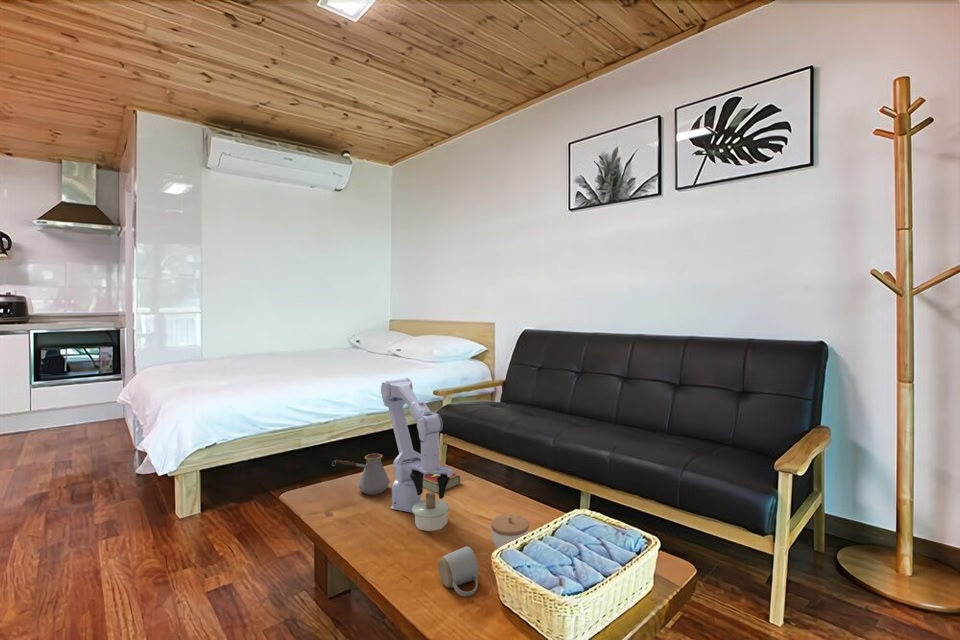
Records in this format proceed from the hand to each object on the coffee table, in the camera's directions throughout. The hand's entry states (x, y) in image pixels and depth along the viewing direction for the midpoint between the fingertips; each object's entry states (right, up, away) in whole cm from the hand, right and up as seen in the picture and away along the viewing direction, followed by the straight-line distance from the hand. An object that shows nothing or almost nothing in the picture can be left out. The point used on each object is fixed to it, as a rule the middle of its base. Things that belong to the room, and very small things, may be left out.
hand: (430, 495), depth 146 cm
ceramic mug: (+11, -10, -31) cm, 35 cm away
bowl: (0, -9, 0) cm, 9 cm away
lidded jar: (+24, -10, -15) cm, 30 cm away
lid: (0, -4, 0) cm, 4 cm away
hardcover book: (-4, -8, +35) cm, 36 cm away
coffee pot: (-27, -8, +23) cm, 37 cm away
